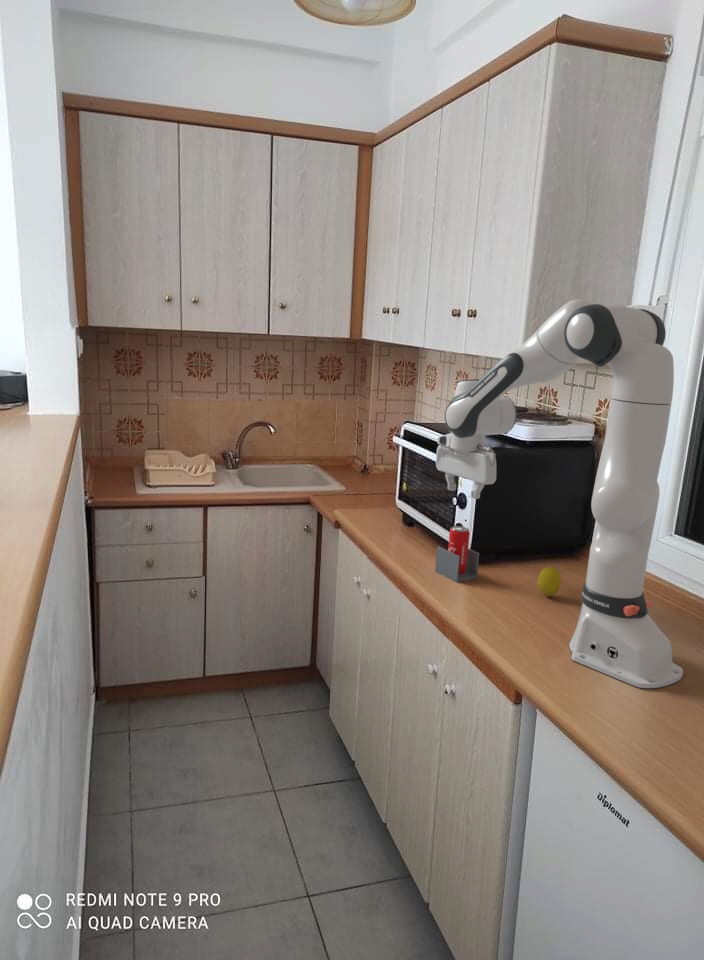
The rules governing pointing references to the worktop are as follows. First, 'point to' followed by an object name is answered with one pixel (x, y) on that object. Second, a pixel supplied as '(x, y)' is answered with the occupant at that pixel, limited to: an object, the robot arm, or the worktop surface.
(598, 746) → the worktop surface
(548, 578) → the lemon
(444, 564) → the bracket
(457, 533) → the beverage can
